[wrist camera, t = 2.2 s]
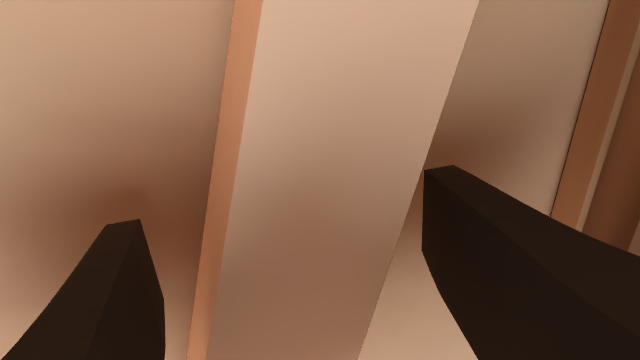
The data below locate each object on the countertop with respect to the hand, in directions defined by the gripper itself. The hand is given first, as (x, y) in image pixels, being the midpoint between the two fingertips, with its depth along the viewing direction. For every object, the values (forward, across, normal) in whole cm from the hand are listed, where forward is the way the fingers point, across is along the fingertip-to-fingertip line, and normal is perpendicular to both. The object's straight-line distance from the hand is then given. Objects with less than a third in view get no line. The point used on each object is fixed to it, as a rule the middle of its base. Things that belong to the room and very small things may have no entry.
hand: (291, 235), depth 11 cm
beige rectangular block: (+2, 0, 0) cm, 2 cm away
